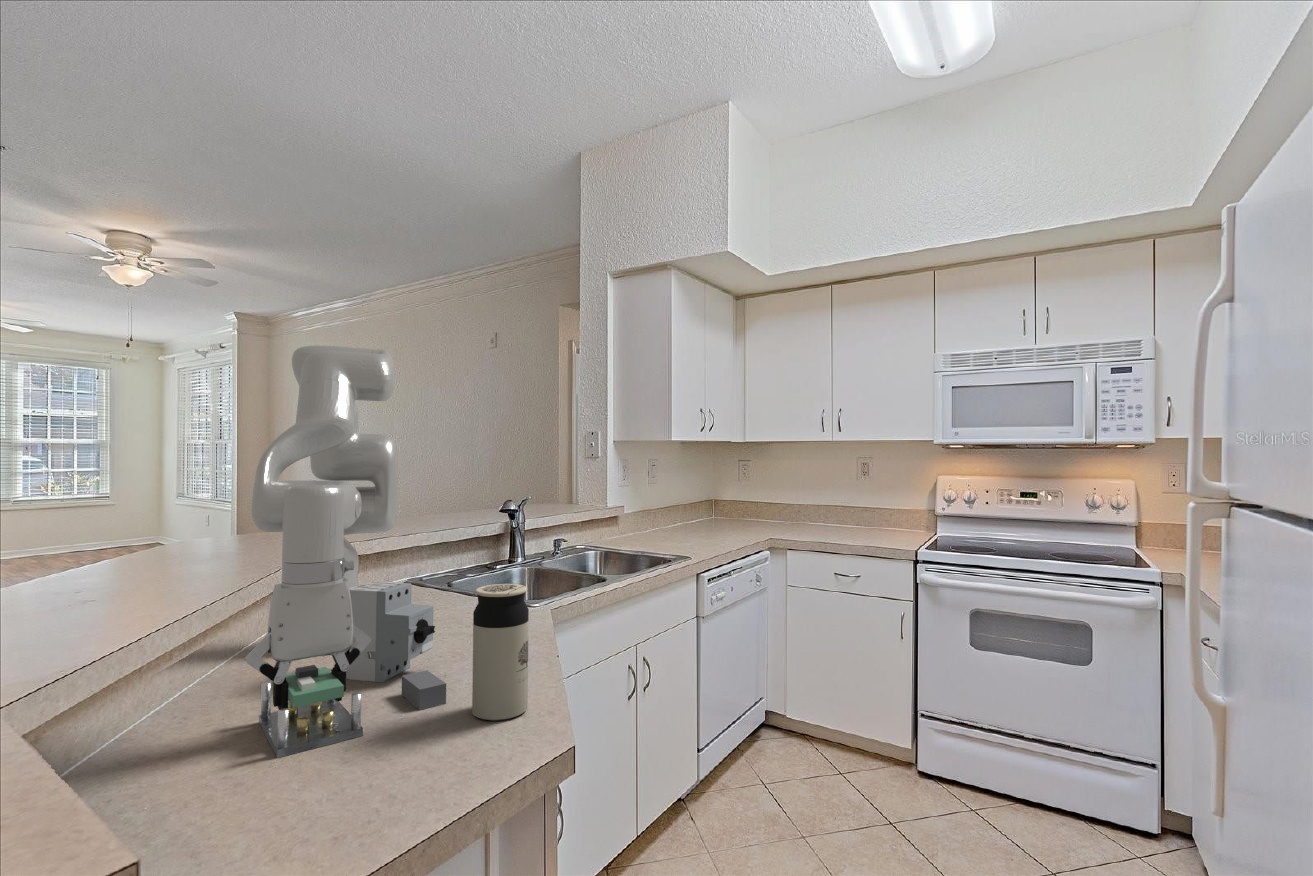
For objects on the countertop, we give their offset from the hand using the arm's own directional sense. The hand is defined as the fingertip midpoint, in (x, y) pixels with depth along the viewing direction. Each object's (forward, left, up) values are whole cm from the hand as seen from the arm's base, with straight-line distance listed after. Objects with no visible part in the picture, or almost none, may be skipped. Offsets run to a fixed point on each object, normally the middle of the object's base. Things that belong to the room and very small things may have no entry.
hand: (310, 703), depth 88 cm
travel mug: (+11, +23, -4) cm, 26 cm away
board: (0, 0, +2) cm, 2 cm away
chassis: (0, 0, -3) cm, 3 cm away
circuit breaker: (-16, +16, -4) cm, 23 cm away
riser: (-1, +16, -3) cm, 16 cm away
